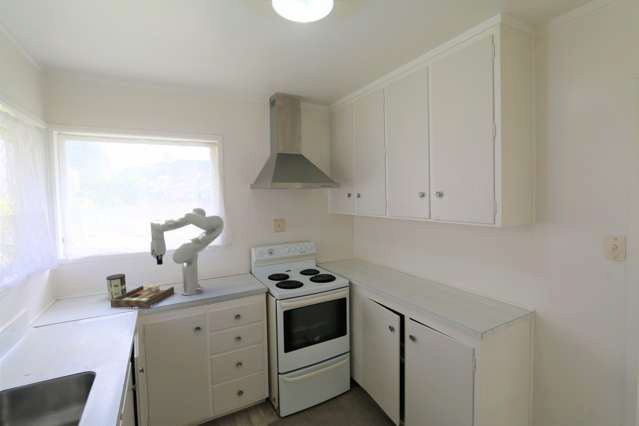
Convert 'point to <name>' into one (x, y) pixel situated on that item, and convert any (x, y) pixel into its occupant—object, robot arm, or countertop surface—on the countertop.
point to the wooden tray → (140, 298)
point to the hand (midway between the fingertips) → (159, 264)
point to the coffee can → (116, 285)
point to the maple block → (153, 289)
